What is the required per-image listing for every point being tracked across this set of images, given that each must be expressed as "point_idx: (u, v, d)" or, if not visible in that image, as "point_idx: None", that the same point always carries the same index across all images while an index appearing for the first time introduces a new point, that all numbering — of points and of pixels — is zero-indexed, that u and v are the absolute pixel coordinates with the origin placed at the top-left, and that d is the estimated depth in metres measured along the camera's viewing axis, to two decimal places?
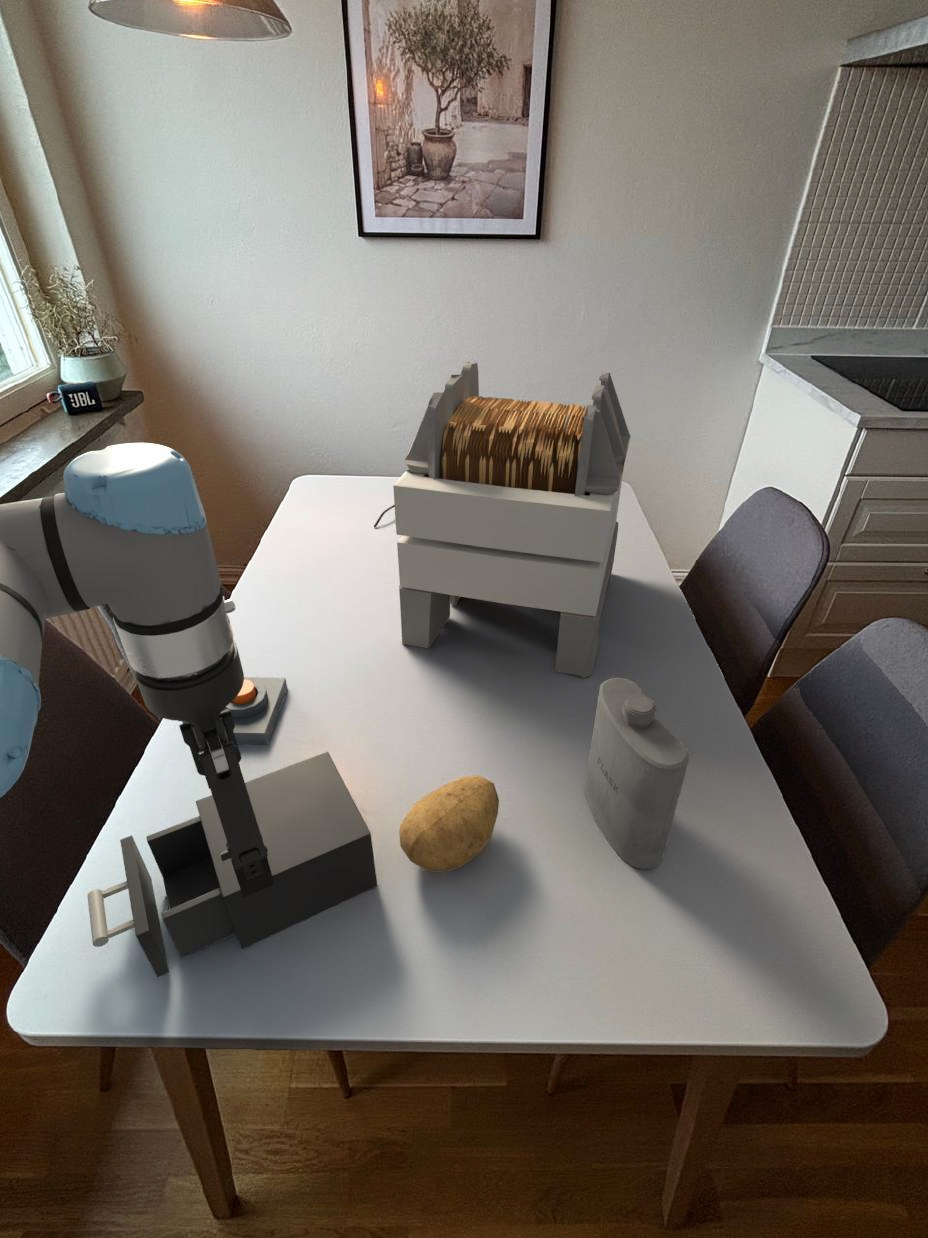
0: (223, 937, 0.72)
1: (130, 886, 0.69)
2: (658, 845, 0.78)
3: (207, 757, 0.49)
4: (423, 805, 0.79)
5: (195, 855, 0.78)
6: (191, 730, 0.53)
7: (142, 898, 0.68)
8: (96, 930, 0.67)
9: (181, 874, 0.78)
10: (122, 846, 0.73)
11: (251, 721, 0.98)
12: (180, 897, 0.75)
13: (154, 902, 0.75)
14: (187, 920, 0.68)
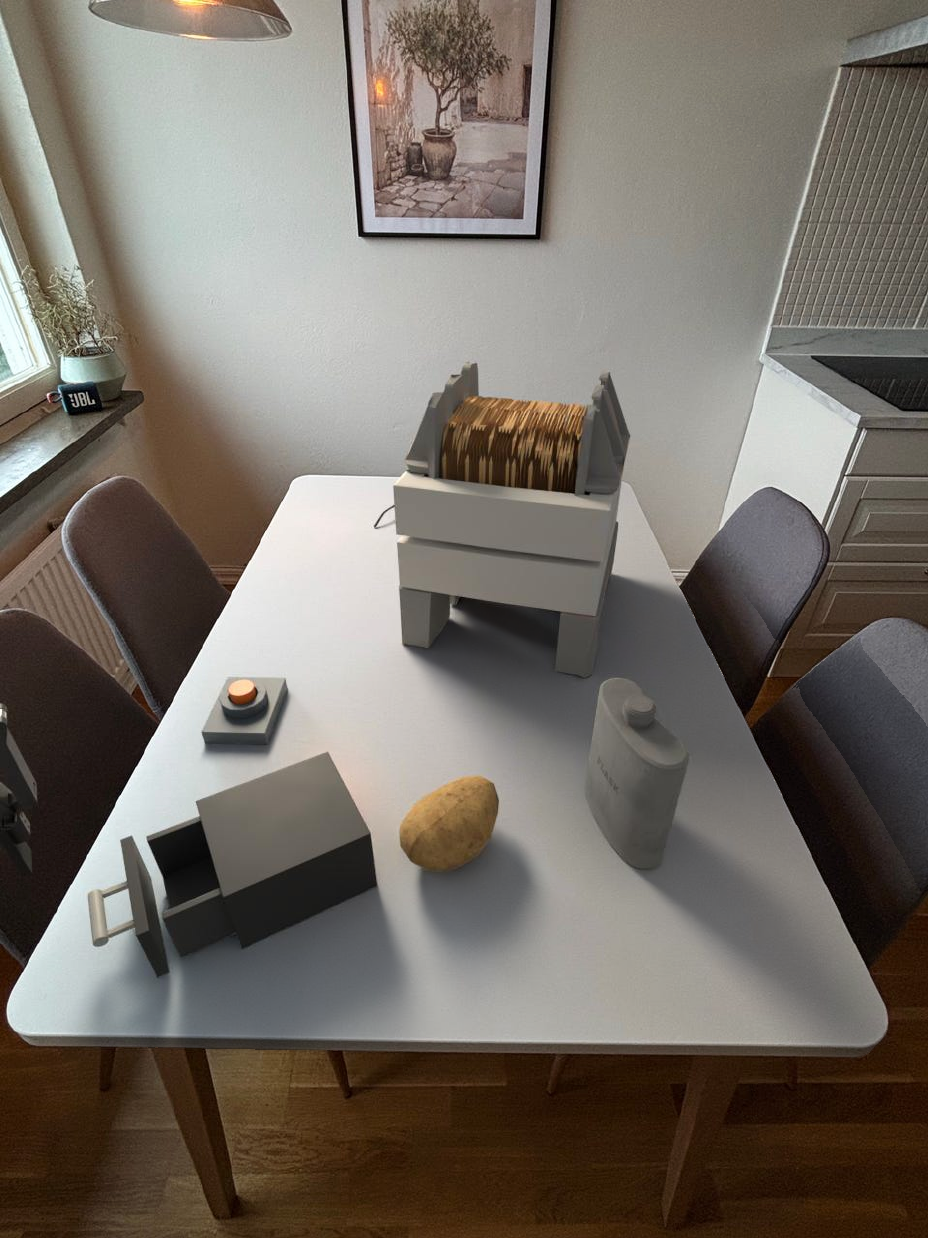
0: (223, 937, 0.72)
1: (130, 886, 0.69)
2: (658, 845, 0.78)
3: (3, 719, 0.53)
4: (423, 805, 0.79)
5: (195, 855, 0.78)
6: None
7: (142, 898, 0.68)
8: (96, 930, 0.67)
9: (181, 874, 0.78)
10: (122, 846, 0.73)
11: (251, 721, 0.98)
12: (180, 897, 0.75)
13: (154, 902, 0.75)
14: (187, 920, 0.68)
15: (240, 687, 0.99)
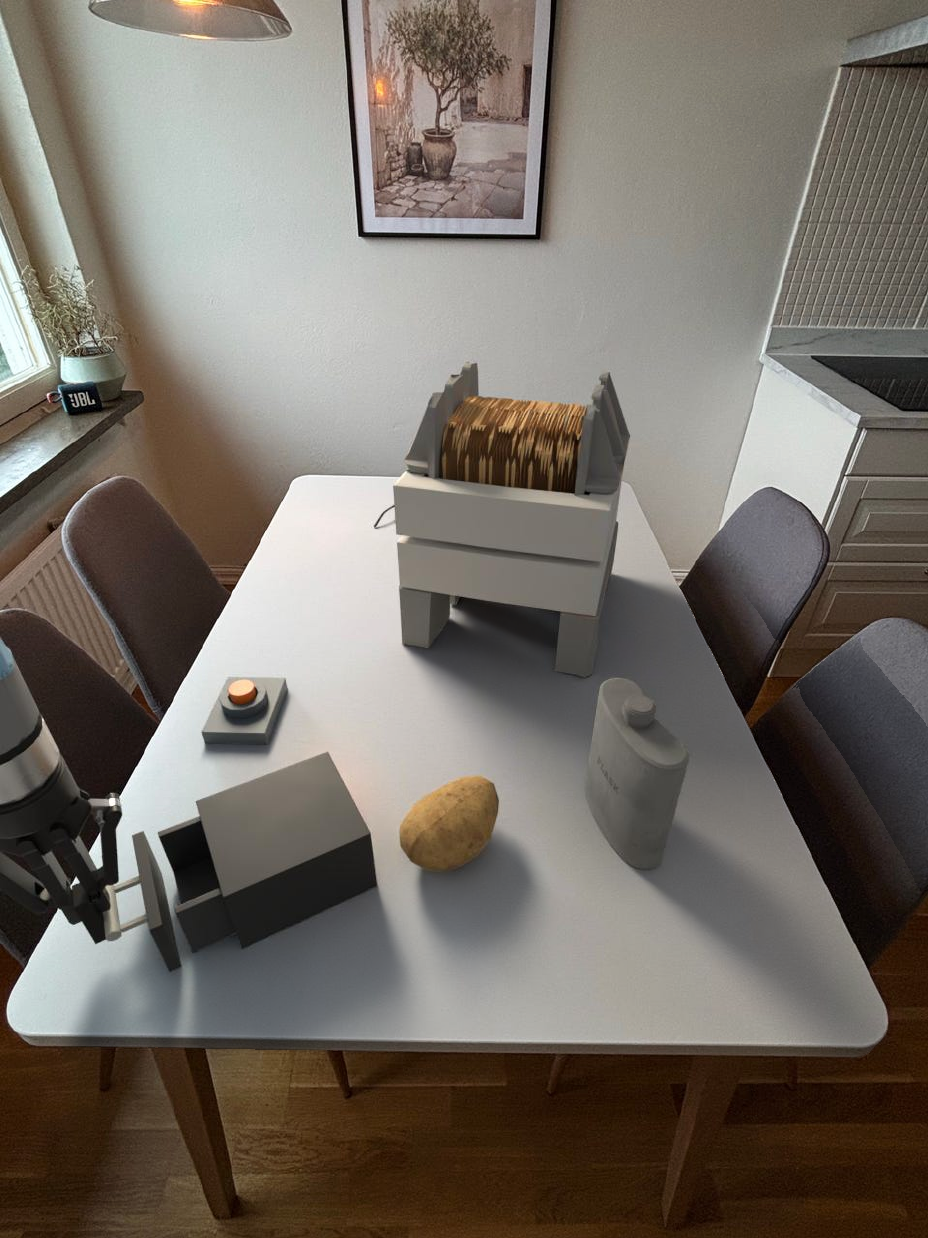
0: (234, 932, 0.72)
1: (142, 881, 0.69)
2: (658, 845, 0.78)
3: (120, 809, 0.63)
4: (423, 805, 0.79)
5: (205, 851, 0.78)
6: (63, 822, 0.60)
7: (155, 893, 0.68)
8: (109, 925, 0.68)
9: (192, 870, 0.78)
10: (134, 841, 0.73)
11: (251, 721, 0.98)
12: (191, 892, 0.76)
13: (165, 897, 0.75)
14: (199, 915, 0.68)
15: (240, 687, 0.99)
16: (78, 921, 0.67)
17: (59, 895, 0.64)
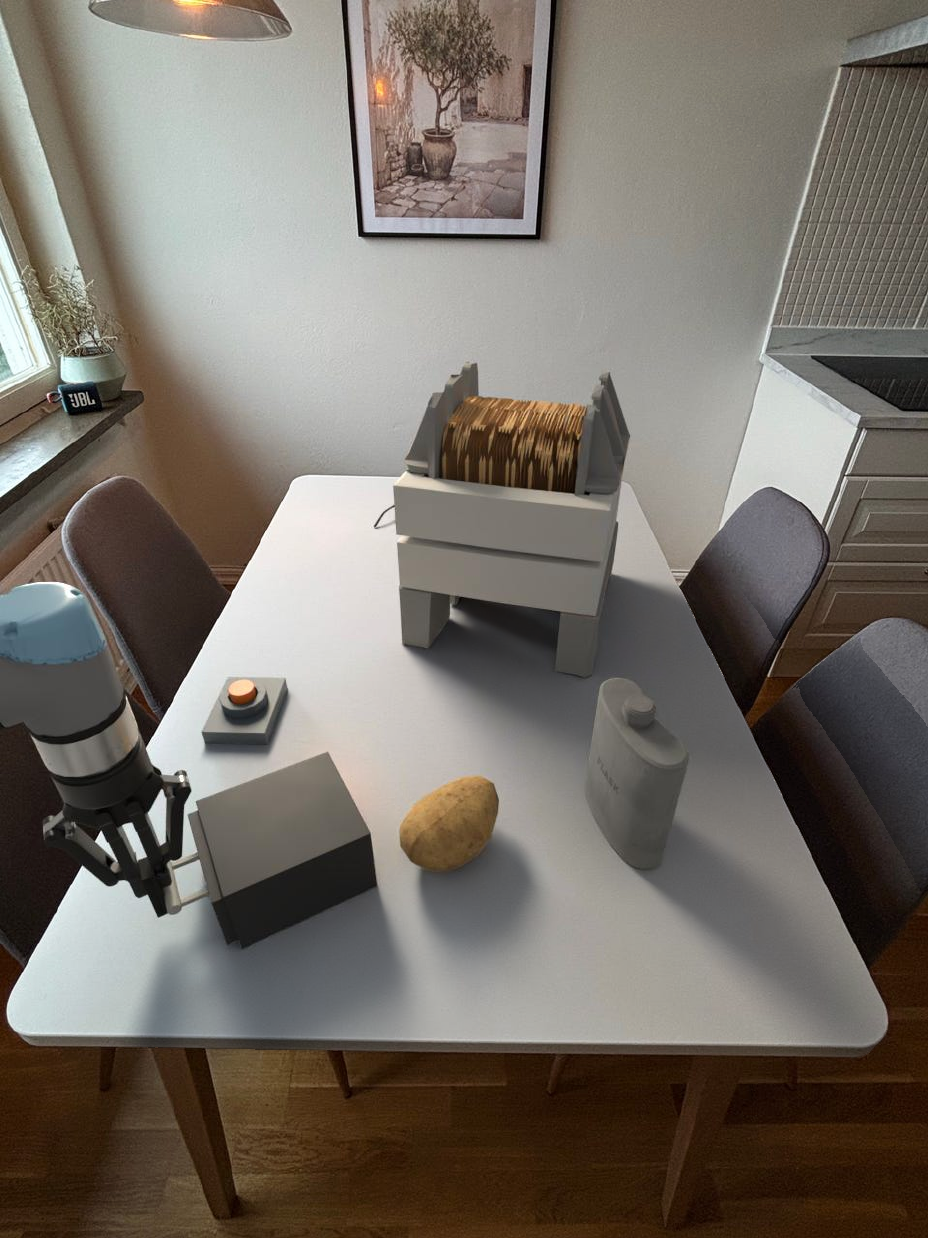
0: None
1: (201, 857, 0.72)
2: (658, 845, 0.78)
3: (189, 785, 0.65)
4: (423, 805, 0.79)
5: None
6: (138, 796, 0.63)
7: (214, 868, 0.70)
8: (170, 899, 0.70)
9: None
10: (190, 820, 0.75)
11: (251, 721, 0.98)
12: None
13: None
14: None
15: (240, 687, 0.99)
16: (143, 894, 0.70)
17: (129, 868, 0.66)
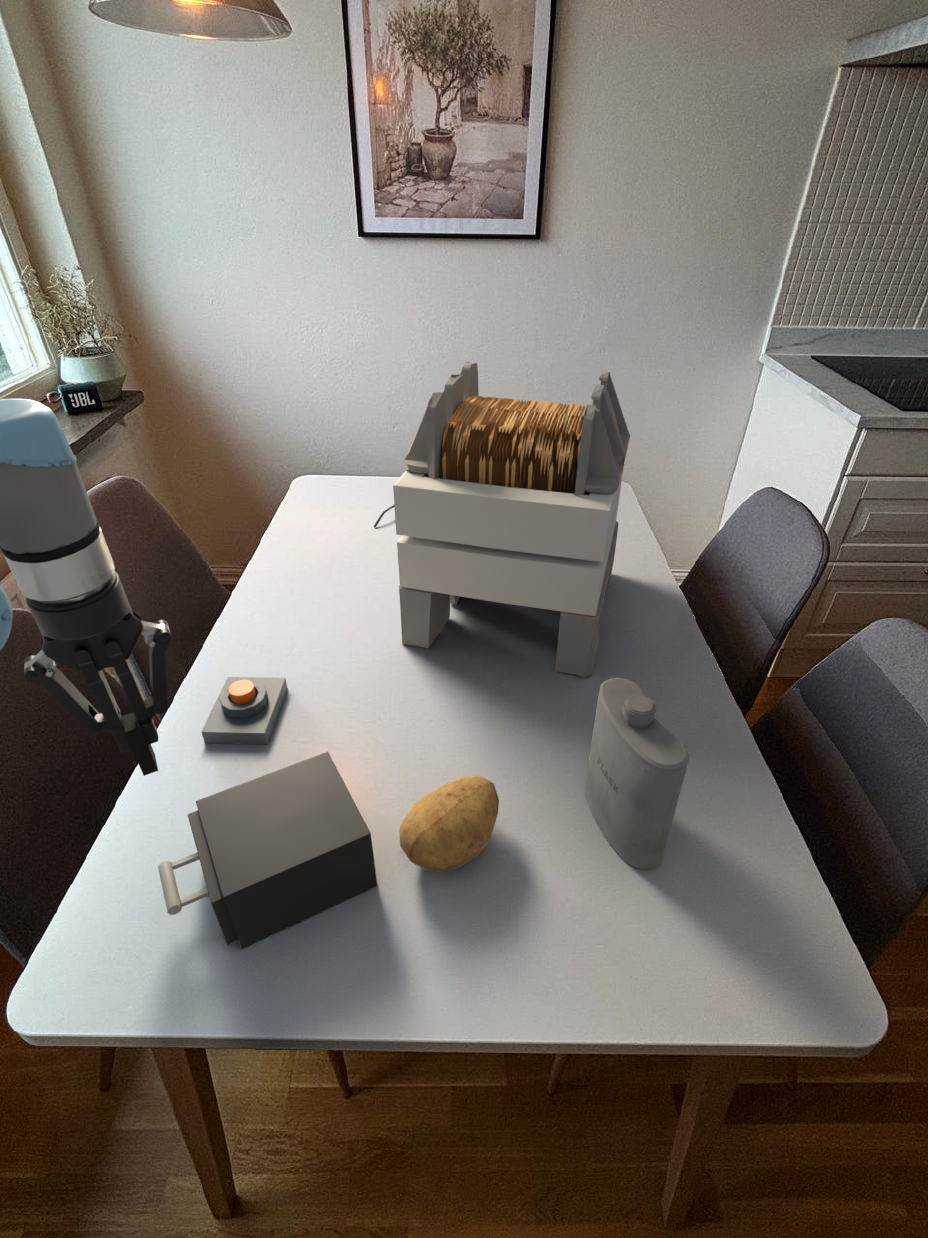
0: None
1: (201, 857, 0.72)
2: (658, 845, 0.78)
3: (169, 632, 0.66)
4: (423, 805, 0.79)
5: None
6: (117, 637, 0.63)
7: (214, 868, 0.70)
8: (170, 899, 0.70)
9: None
10: (190, 820, 0.75)
11: (251, 721, 0.98)
12: None
13: None
14: None
15: (240, 687, 0.99)
16: (128, 750, 0.71)
17: (111, 717, 0.67)
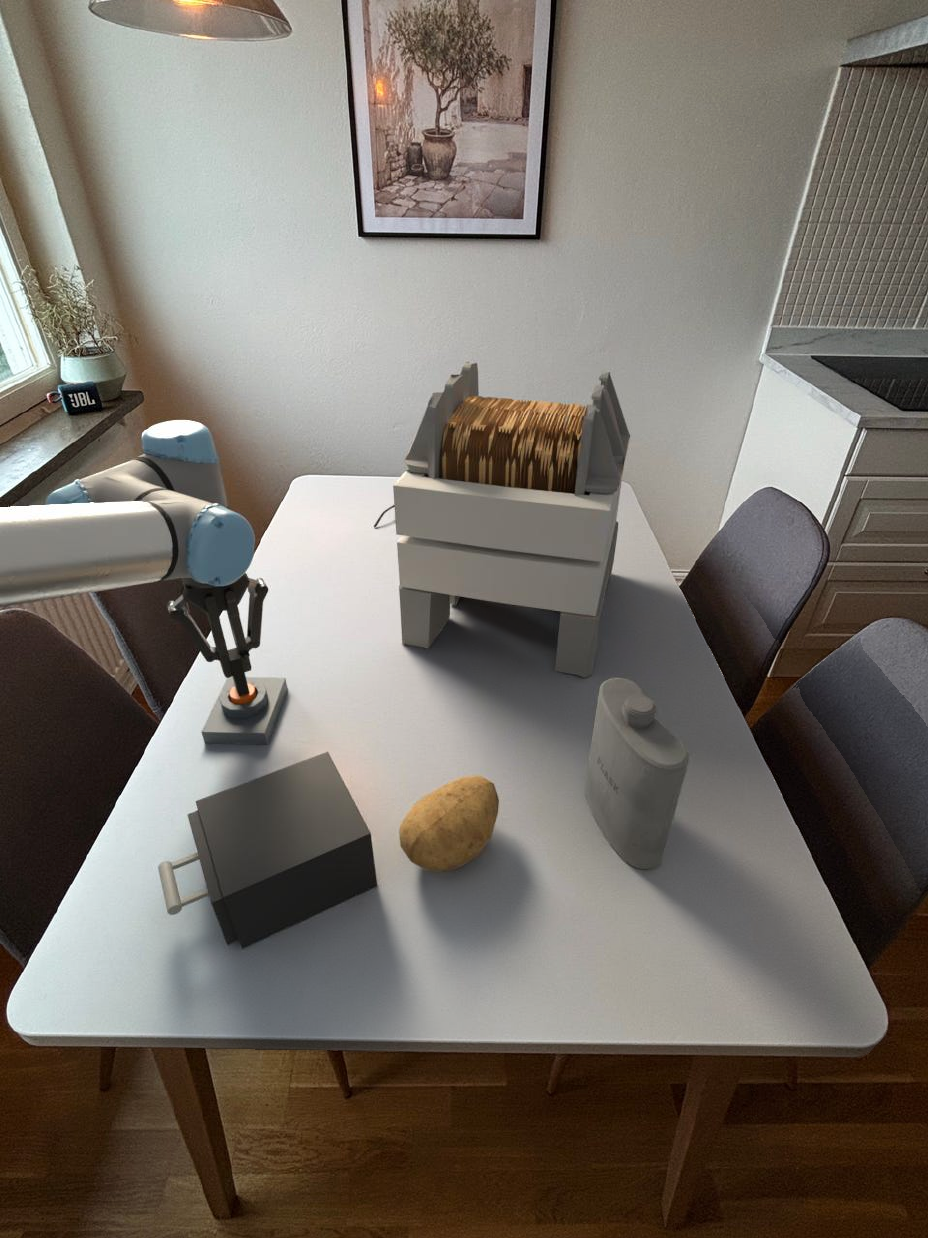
0: None
1: (201, 857, 0.72)
2: (658, 845, 0.78)
3: (266, 586, 0.91)
4: (423, 805, 0.79)
5: None
6: (232, 588, 0.89)
7: (214, 868, 0.70)
8: (170, 899, 0.70)
9: None
10: (190, 820, 0.75)
11: (251, 721, 0.98)
12: None
13: None
14: None
15: None
16: (230, 675, 0.96)
17: (222, 648, 0.93)
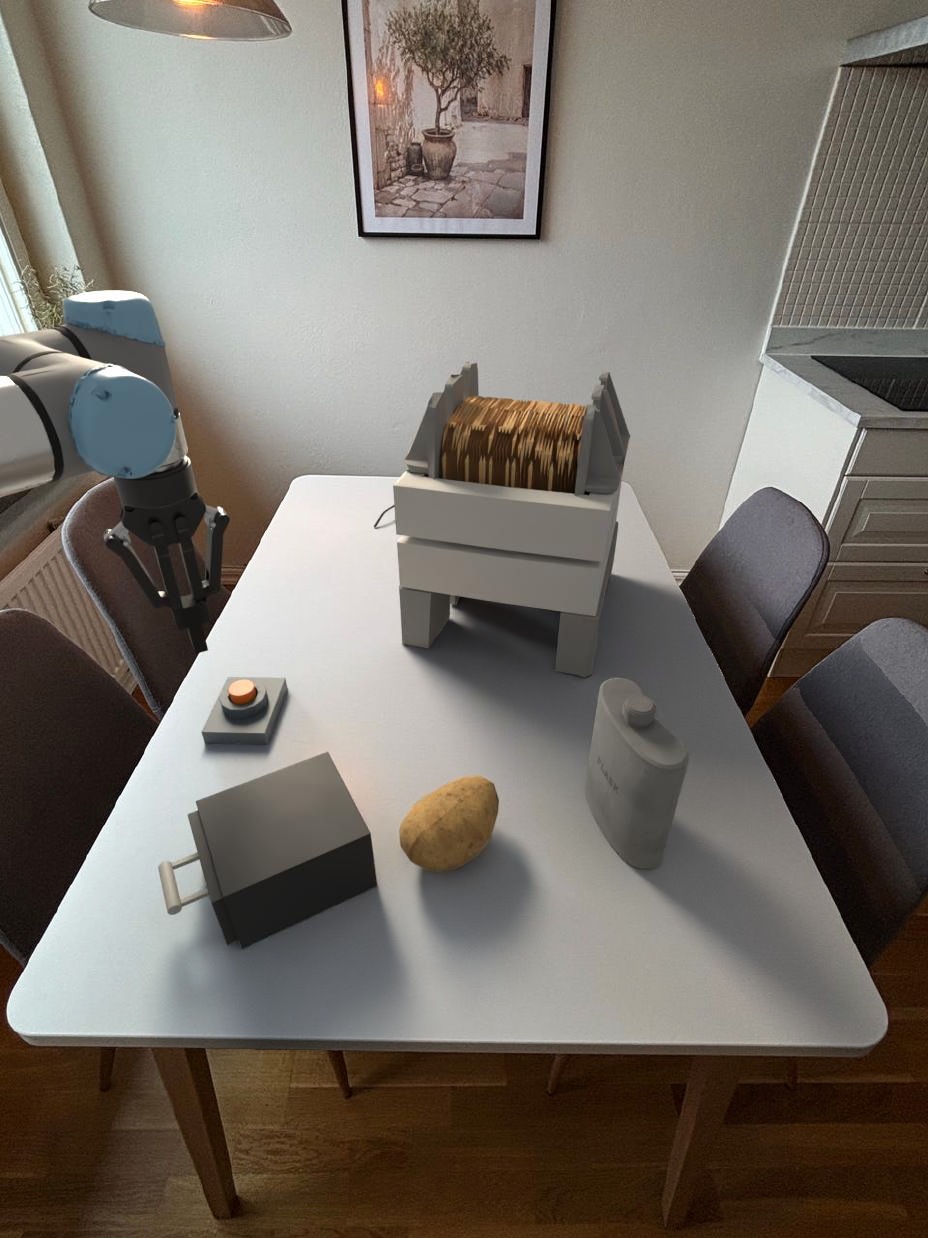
0: None
1: (201, 857, 0.72)
2: (658, 845, 0.78)
3: (227, 516, 0.75)
4: (423, 805, 0.79)
5: None
6: (185, 515, 0.73)
7: (214, 868, 0.70)
8: (170, 899, 0.70)
9: None
10: (190, 820, 0.75)
11: (251, 721, 0.98)
12: None
13: None
14: None
15: (240, 687, 0.99)
16: (183, 627, 0.80)
17: (173, 592, 0.76)
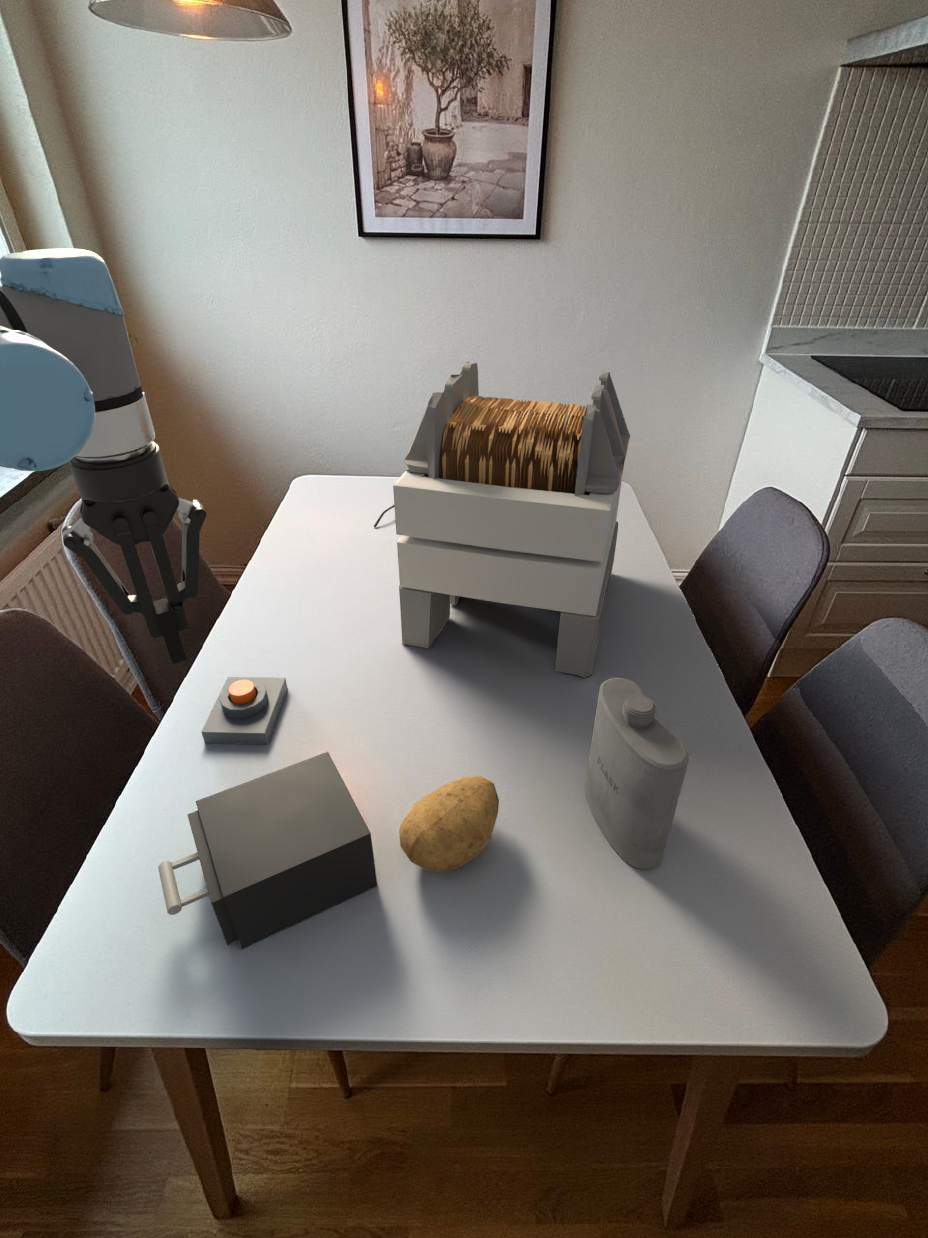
0: None
1: (201, 857, 0.72)
2: (658, 845, 0.78)
3: (204, 510, 0.67)
4: (423, 805, 0.79)
5: None
6: (154, 509, 0.64)
7: (214, 868, 0.70)
8: (170, 899, 0.70)
9: None
10: (190, 820, 0.75)
11: (251, 721, 0.98)
12: None
13: None
14: None
15: (240, 687, 0.99)
16: (158, 635, 0.71)
17: (144, 596, 0.68)
